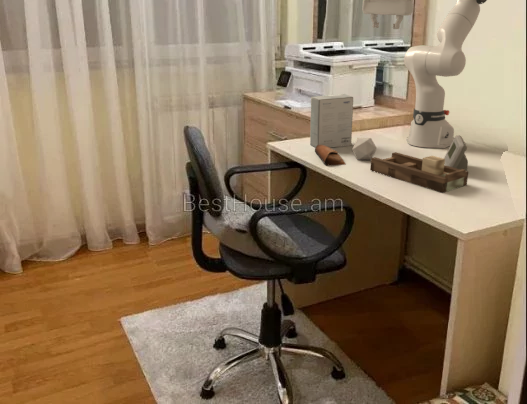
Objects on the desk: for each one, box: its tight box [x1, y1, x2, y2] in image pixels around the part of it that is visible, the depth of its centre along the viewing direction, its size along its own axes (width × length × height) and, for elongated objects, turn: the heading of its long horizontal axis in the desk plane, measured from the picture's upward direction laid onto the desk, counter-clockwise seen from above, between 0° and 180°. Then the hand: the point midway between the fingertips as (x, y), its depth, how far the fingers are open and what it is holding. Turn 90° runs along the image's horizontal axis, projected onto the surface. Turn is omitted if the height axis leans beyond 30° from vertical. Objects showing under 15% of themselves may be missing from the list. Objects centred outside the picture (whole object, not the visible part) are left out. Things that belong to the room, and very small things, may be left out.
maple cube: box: [422, 155, 445, 175], centre depth 188 cm, size 5×5×5 cm
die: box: [351, 137, 377, 161], centre depth 215 cm, size 8×9×10 cm
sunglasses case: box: [314, 145, 346, 166], centre depth 216 cm, size 18×7×7 cm
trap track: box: [370, 152, 469, 194], centre depth 193 cm, size 13×30×6 cm, turn 38°
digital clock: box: [443, 134, 469, 171], centre depth 202 cm, size 16×9×11 cm, turn 157°
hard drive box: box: [309, 93, 354, 149], centre depth 231 cm, size 16×8×20 cm, turn 111°
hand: (385, 28), depth 202 cm, fingers open, 8 cm apart
